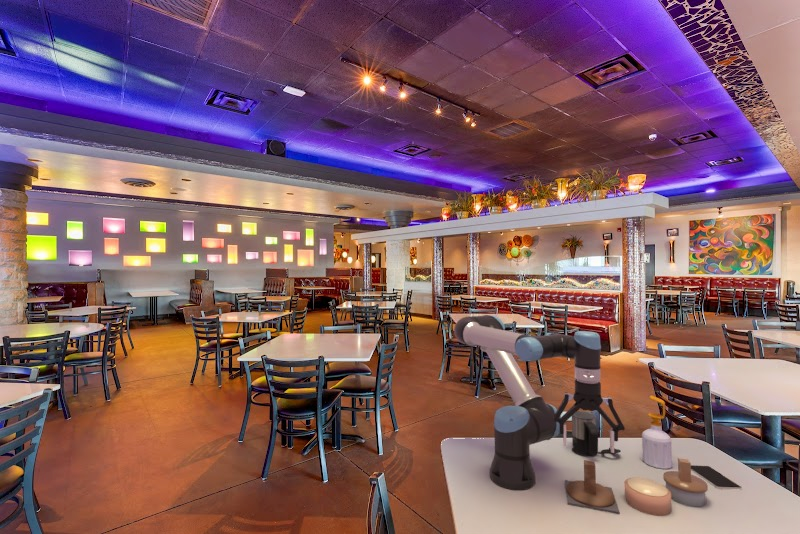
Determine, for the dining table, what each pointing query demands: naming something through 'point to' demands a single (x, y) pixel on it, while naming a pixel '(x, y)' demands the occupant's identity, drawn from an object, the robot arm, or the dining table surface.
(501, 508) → the dining table surface
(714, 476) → the smartphone
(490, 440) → the dining table surface
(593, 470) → the walnut lid
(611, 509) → the rubber mat
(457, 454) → the dining table surface
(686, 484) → the slate bowl covered
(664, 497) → the terracotta bowl
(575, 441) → the milk frother
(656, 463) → the soap bottle
